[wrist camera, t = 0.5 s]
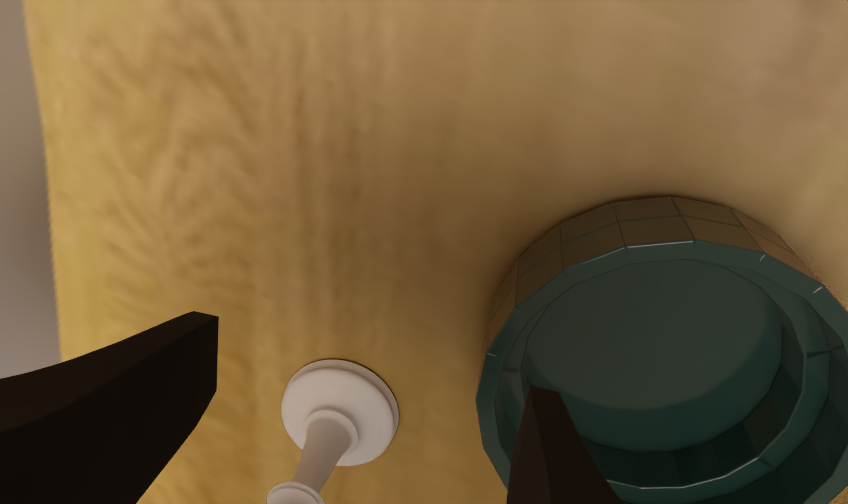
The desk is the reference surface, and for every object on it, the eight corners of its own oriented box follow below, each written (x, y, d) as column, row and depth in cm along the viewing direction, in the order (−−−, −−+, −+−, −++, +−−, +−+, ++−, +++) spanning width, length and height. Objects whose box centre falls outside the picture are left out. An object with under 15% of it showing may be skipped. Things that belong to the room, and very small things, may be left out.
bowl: (752, 498, 26) (791, 595, 22) (464, 433, 27) (450, 514, 23) (876, 228, 22) (954, 289, 17) (522, 162, 23) (517, 204, 18)
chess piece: (267, 420, 29) (139, 628, 20) (313, 337, 27) (196, 527, 18) (366, 475, 29) (286, 705, 20) (420, 398, 27) (358, 615, 18)
